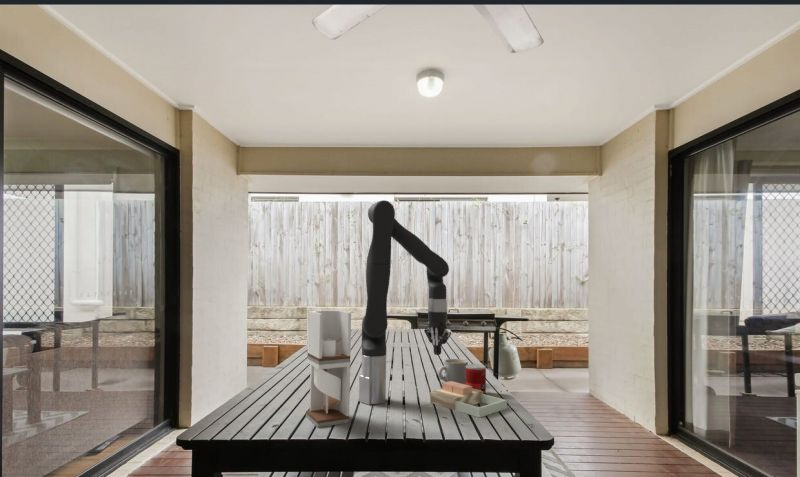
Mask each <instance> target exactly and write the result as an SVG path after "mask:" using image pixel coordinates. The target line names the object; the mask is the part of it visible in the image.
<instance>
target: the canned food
mask: <svg viewBox="0 0 800 477" xmlns="http://www.w3.org/2000/svg"><path fill="white" fill-rule="evenodd" d="M486 367H487V366H485V365H484V364H476V363H471V364H469V363H468V365H466V385H469V386H472V388H473V389H477V390H481V391H483V394H485V395H486V391H487V386H486V385H487V368H486Z"/></svg>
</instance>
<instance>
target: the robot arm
mask: <svg viewBox="0 0 800 477" xmlns="http://www.w3.org/2000/svg"><path fill="white" fill-rule="evenodd" d="M395 210H396V209H395V208H394V205H393V204H392V203H391V202H390V201H388V200H379V201H377V202H375V203H373V204H372V205H370V206H369V208H368V210H367V217H368V219H369V221H370V222H371V223H372V238H371V243H370V245H369V249H368V251H367V252H368V253H367V257H366V268H365V284H366V285H365V286H366V295H367V299H366V308H365V309H366V310H365V315H364V316H363V317H362V320H361V374H360V375H359V376H358V377H359V384H358V402H360V403H363V404H366V405H369V406H370V405H379V404H384V403H386V401H387V395H386V394H387V339H386V338H387V330H388V311H387V310H388V309H387V307H388V305H387V303H388V294H389V287H390V278H391V264H392V239H393V240H394V241H396V242H397V243H398V244H399V245H400V246H401V247H402V248H403V249H404V250H405V251H406V252H407V253H408V254H409V255H410V256H411V257H412V258H414V260H416V261H417V262H418V263H420V264H421V265H424V266H425V267H426V271H425V272H426V280H427V284H428V303H427V317H428V318H427V321H428V327H427V328H426V329H424V333H425V336H426V338H427V340H428V341H429V343H430V344H432V345H433V354H434V355H435V356H440V355H441V354H442V345H445V344H447V342H448V340H449V339H450V337H451V336H452V332H451V331H449V330H448V329H447V328H448V326H447V322H448V301H447V286H446V284H445V283H444V277H446V276H447V275H448V274H449V271H450V268H449V264H448V262H447V261H446V260H445V259H444V258H443V257H442V256H440V255H439V254H438V253H436V252H435V251H433V250H432V249H431V248H430V247H429V246H428V245H427V244H426V243H425V242H424V240H422V239H421V238H419V237H418V236H417V235H416V234H414V233H413V232H411V231H409V230H408V229H407V228H406V227H404V226H403V225H402V224H401V223H400V222H399V221H398V220H397V219H396V218H395V216H396V211H395Z"/></svg>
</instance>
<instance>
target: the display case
mask: <svg viewBox="0 0 800 477" xmlns="http://www.w3.org/2000/svg"><path fill="white" fill-rule="evenodd" d="M307 319H308V320H307V322H308V323H307V358H306V359H307V364H309V365H310V372H309V373H310V374H309V375H310V376H309V378H310V379H309V380H310V381H309V382H310V383H309V409H308V410H306V411H305V418H306V419H307V420H308V421H310V422H311V423H312V424H313V425H314V426H315V427H316V428H323V427H329V426H335V425H341V424H342V425H343V424H348V423H349V424H350V404H351V403H350V398H351V397H350V395H351V391H350V390H351V347H352V346H351V345H352V344H351V342H352V340H351V336H352V333H351V332H352V312H349V311H344V310H340V309H335V310H334V309H329V310H308V318H307Z"/></svg>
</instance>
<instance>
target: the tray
mask: <svg viewBox="0 0 800 477" xmlns="http://www.w3.org/2000/svg"><path fill="white" fill-rule="evenodd" d="M507 402H508V401H507V399H504V398H501V397H496V396H493V395H488V394H486V393H485V394H481V403H482V404H486V405H483V406H475V405H469V404H465V403H462V402H458V401H455V410H454V411H457V412H460V413H464V414H467V415H470V416H473V417H477V418H483V417H485V416H488V414H489V415H491V414H494V413H495V414H496V413H497V412H501V411H504V410H507V407H508V405H507V404H508V403H507Z"/></svg>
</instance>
